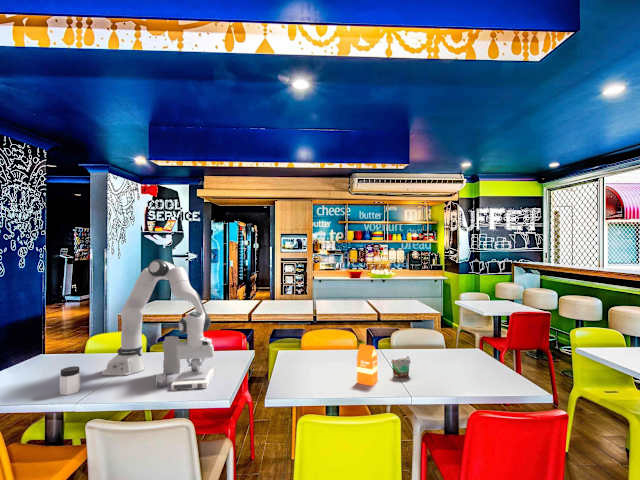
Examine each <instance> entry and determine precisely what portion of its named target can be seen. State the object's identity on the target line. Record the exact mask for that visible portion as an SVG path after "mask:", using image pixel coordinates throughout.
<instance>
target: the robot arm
mask: <svg viewBox="0 0 640 480" xmlns="http://www.w3.org/2000/svg"><path fill="white" fill-rule="evenodd" d="M160 280H161V281H169V286H170V290H171V293H172V295H173V296H174V297H175V298H177V299H179V300H185V301H188V302H189V303H191V304H192V305H193V307H194V309H195V311H191V312H189V313H188V315H187V316H184V317H181V318H180V319H179V320H178V322H177V326H178V328H177V329H178V331H179V333H181V334H183V335H184V334H187V338H186V341H180V342H179V343H178V344H177V346H176V348H177V359H180V360H186V363H187V364H188V366H187V367H191V360H192V359H194V358H199V359H200V360H201V361H200V363H199V364H200V365H199V366H200V367H202V366H203V362H204V361H205V359H211V358H213V357H214V355H215V350H214V345H213V343H212V341H213V340H212V339H211V338H208V337H205V336H204V332H206V331H208V330H209V328H210V327H211V323H212V321H211V318H210V316H209V314H208V313H207V311H206V309H205V306H204V304H203V302H202V299H201V296H200V294H199V293H198V291H197V290H195V289H194V288H193V287H192V285H191V282H190V279H189V276H188V273H187V271H186V269H185V268H184V267H183V266H176V265H175V264H173V263H171V262H169V261H165V260H162V259H154V260H152V261H151V262H150V263H149V264H148V266H147V267H145V268H144V269H143V270H142V271H141V273H140V274H139V276H138V278H137V279H136V281H135V284H134V285H133V288H132V290H131V292H130V294H129V296H128V298H127V299H126V301H125V303H124V305H123V307H122V309H121V311H120V318H121V334H120V344H121V345H120V347H119V348H118V349H117V350H116V353H117V355H115V356H114V357H112V359H110V360H109V361H107V365H106V368H105V369H104V370H103V371H102V373H101V375H102V376H121V377H122V376H129V375H132V374H136V373H140V372H142V371H143V370H144V369H145V366H144V365H145V364H144V361H143V345H142V343H143V342H142V333H143V329H142V328H143V317H144V315H143V310H144V308H145V306H146V305H147V303H148V302H149V300H150V299H151V298H150V297H151V296H152V294H153V291H154V289H155V287H156V285H157V283H158V282H159V281H160ZM190 359H191V360H190Z"/></svg>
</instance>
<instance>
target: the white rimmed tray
mask: <svg viewBox="0 0 640 480" xmlns="http://www.w3.org/2000/svg"><path fill="white" fill-rule="evenodd" d="M214 371H215V369H214V368H212V367H211V366H210V367H200V370H199V371H191V367H189V368H183V369H182V370H180V373H178V375H177V376H176V377H175V379H174V380H173V381H172V383H171V385H170V387H171V388H170V390H171V391H178V390H177V389H188V390H192V389H191V388H205V389H208V387H209V385H208V384H210V383H209V382H211V381H210V380H212V378H213V376H214V374H213V373H215V372H214ZM207 386H208V387H207Z"/></svg>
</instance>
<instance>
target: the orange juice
mask: <svg viewBox="0 0 640 480" xmlns="http://www.w3.org/2000/svg"><path fill="white" fill-rule="evenodd" d="M356 382H357V384H362V385H365V386H366V385H367V386H372V387H373V385H375V383H377V382H378V353H377V350H376V347H375V346H374V345H369V344H367V345H366V344H363V343H362V344H361V343H360V344H359V347H358V351H357V354H356Z"/></svg>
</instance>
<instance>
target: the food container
mask: <svg viewBox="0 0 640 480" xmlns="http://www.w3.org/2000/svg"><path fill="white" fill-rule="evenodd" d="M390 363H391V366H392V373H393V374H392V376H393V378H396V379H407V378H409V375H410V364H411V358H410V357H409V356H408V355H407V356H406V357H404V358H399V359H392V358H391V362H390Z"/></svg>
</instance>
